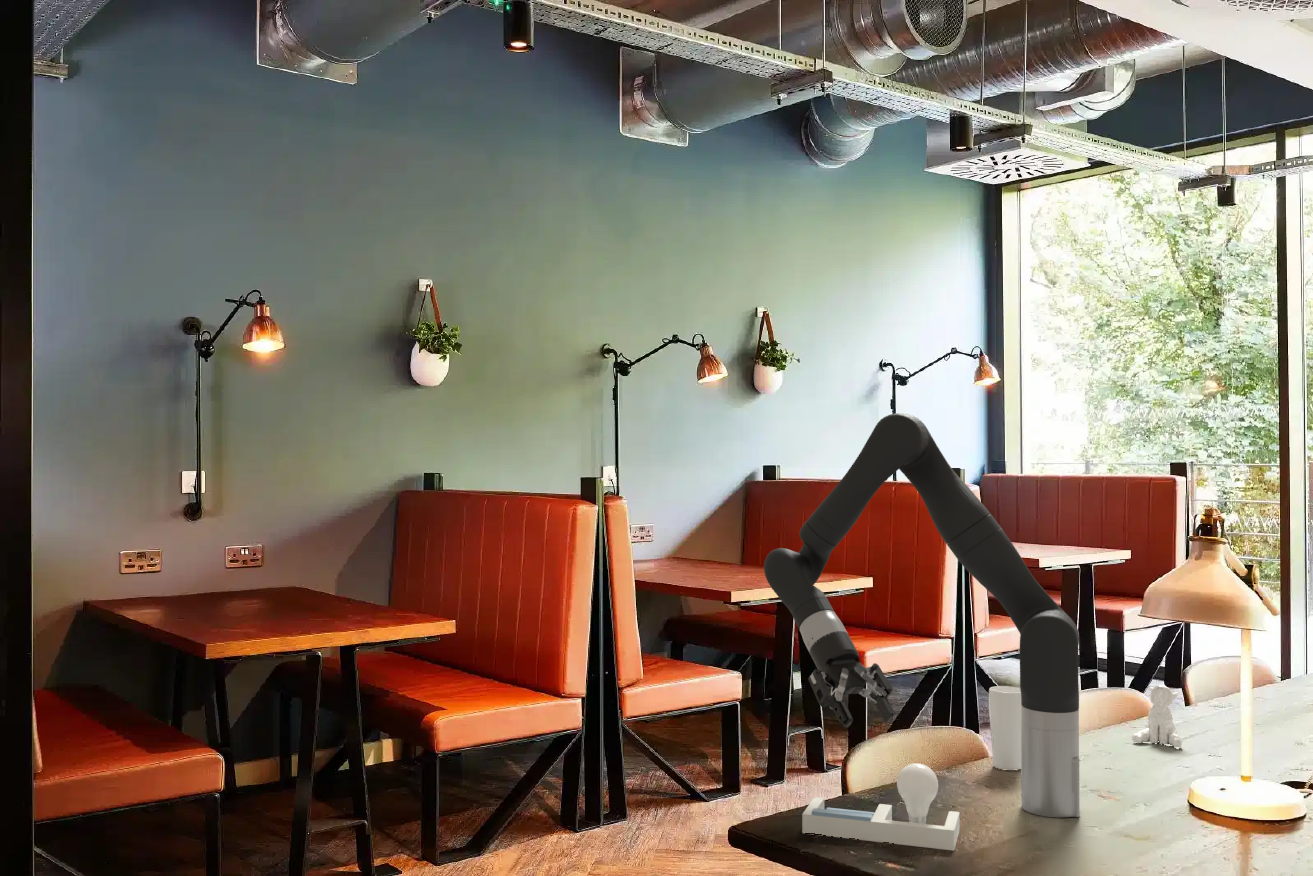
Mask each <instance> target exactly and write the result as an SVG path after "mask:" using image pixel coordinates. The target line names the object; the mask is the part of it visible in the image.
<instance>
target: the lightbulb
mask: <svg viewBox="0 0 1313 876" xmlns="http://www.w3.org/2000/svg"><path fill="white" fill-rule="evenodd" d="M896 787H897V791H898V794H899V795H900V797H901V799H902V800H903V802H904V803H905V807H906V811H907V814H908V820H909V821H908V822H910V823H919V824H927V815H928V814H929V809H930V805H931V804H932V802H933V801H934V799H935V798H936V796H937V795H938V791H939V781H938V777H937V775H936V773H935V772H934V771H933V769H932V768H930V767H929V766H928V765H926V764H924V763H919V762H918V763H917V762H914V763H909V764H907V765H906V766H903V768H902V769H901V770H900V771H899V773H898V776H897V777H896Z"/></svg>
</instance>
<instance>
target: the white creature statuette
mask: <svg viewBox="0 0 1313 876" xmlns="http://www.w3.org/2000/svg"><path fill="white" fill-rule="evenodd" d="M1149 690H1150V694H1149V697H1150V703H1151V704H1153V705H1152V706H1151V707H1150V708H1149V711H1148V715H1147V724H1146V725H1145V728H1144V729H1142V730H1141V729H1140V730H1138V731H1136V732H1135V733H1134V734H1133V735H1132V736H1131V740H1132V742H1133V743H1134V742H1137V743H1143V742H1151V743H1159V742H1160V743H1159V744H1168V743H1169V744H1170V745H1172V746H1174V747H1181V748H1182V745H1183V741H1182V738H1181V737H1180V736H1179V735H1178V732H1177V731H1176V727H1175V725H1174V722H1173V714H1172V711H1171V709H1170V708H1169V707H1170V706H1171V705H1172V704H1173V701H1174V700H1175V699H1177V697H1178V694H1179V692H1178V691H1176V692H1173V691H1172V689H1171V688H1170V687H1167V685H1164V684H1156V685H1154V686H1153V687H1152V686H1149ZM1158 741H1159V742H1158Z"/></svg>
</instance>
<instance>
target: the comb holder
mask: <svg viewBox="0 0 1313 876" xmlns="http://www.w3.org/2000/svg"><path fill="white" fill-rule="evenodd" d="M960 814H961V813H960V812H959V811H950V810H949V811H948V814H947V817H946V820H945V823H944V825H936V824H928V823H926V824H919V823H910V822H909V821H901V820H900V821H897V820H893V805H892V804H884V803H879V804H878V806H877V808H876V810H875V812H873V811H866V810H864V811H863V810H858V809H857V810H855V809H845V808H837V807H836V808H835V807H829V806H827V807H826V808H825V798H824V797H818V796H815V797H814V798H813V799H812V800H811V802H810V803H808V806H807V807H806V808H805V810H804V811H803V812H802V819H801V821H802V822H801V823H802V824H801V825H802V827H801V828H802V829H801V830H802V831H801V832H802V833H801V834H805V833H815V834H822V835H821V836H823V835H826V836H825V837H831V836H833V838H840V837H842V839H849V838H855V839H854V840H857V839H859V841H868V842H876V843H883V842H889V843H888V844H892V843H894V845H900V846H901V845H902V846H910V847H911V846H912V847H921V848H928V849H937V850H945V851H946V850H947V851H955V848H956V846H957V841H958V838H959V834H960V823H961V822H960Z"/></svg>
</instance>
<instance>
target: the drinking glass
mask: <svg viewBox="0 0 1313 876" xmlns="http://www.w3.org/2000/svg"><path fill="white" fill-rule="evenodd" d="M988 716H989V727H990V728H989V729H990V736H991V737H990V739H991V750H992V766H993V767H994V768H995V769H997V768H998V769H997V770H1000V769H1007V770H1014V769H1019V770H1021V690H1020V687H1019V686H1018V687H1017V686H1011V685H1010V686H1008V685H997V686H991V687H989V689H988Z"/></svg>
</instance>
